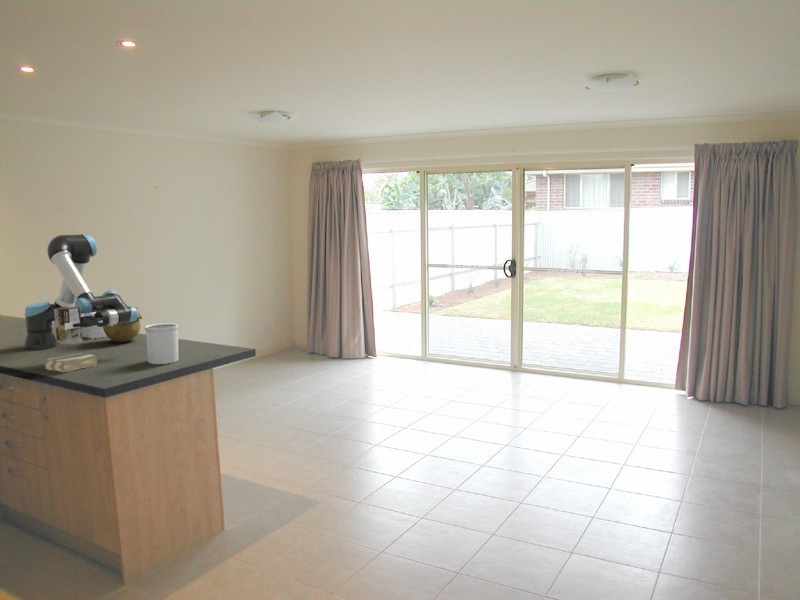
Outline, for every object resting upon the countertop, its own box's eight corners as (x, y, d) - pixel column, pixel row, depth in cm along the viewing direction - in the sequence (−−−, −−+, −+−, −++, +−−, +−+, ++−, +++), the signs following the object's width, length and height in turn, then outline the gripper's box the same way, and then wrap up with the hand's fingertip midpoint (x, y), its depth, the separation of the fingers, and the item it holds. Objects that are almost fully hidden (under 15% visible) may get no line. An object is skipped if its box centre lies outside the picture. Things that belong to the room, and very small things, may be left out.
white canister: (107, 337, 350) (106, 311, 348) (91, 339, 343) (89, 313, 341) (101, 334, 356) (99, 309, 354) (85, 337, 349) (83, 311, 347)
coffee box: (83, 341, 281) (80, 307, 279) (71, 344, 275) (68, 309, 273) (68, 340, 284) (65, 306, 282) (56, 343, 278) (53, 308, 276)
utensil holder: (154, 357, 301) (152, 322, 299) (184, 357, 301) (182, 322, 298) (141, 364, 287) (139, 328, 284) (172, 365, 286) (170, 328, 284)
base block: (45, 369, 278) (44, 358, 277) (78, 362, 292) (77, 351, 291) (64, 373, 271) (63, 362, 270) (97, 365, 285) (96, 355, 284)
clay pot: (99, 340, 341) (96, 305, 338) (139, 336, 353) (137, 302, 350) (104, 347, 324) (102, 310, 321) (147, 342, 335) (144, 306, 332)
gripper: (119, 328, 288) (73, 336, 269) (93, 323, 300) (46, 330, 281) (118, 312, 286) (71, 319, 268) (92, 308, 299) (45, 314, 280)
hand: (58, 325), depth 275 cm, fingers closed on coffee box, 10 cm apart
